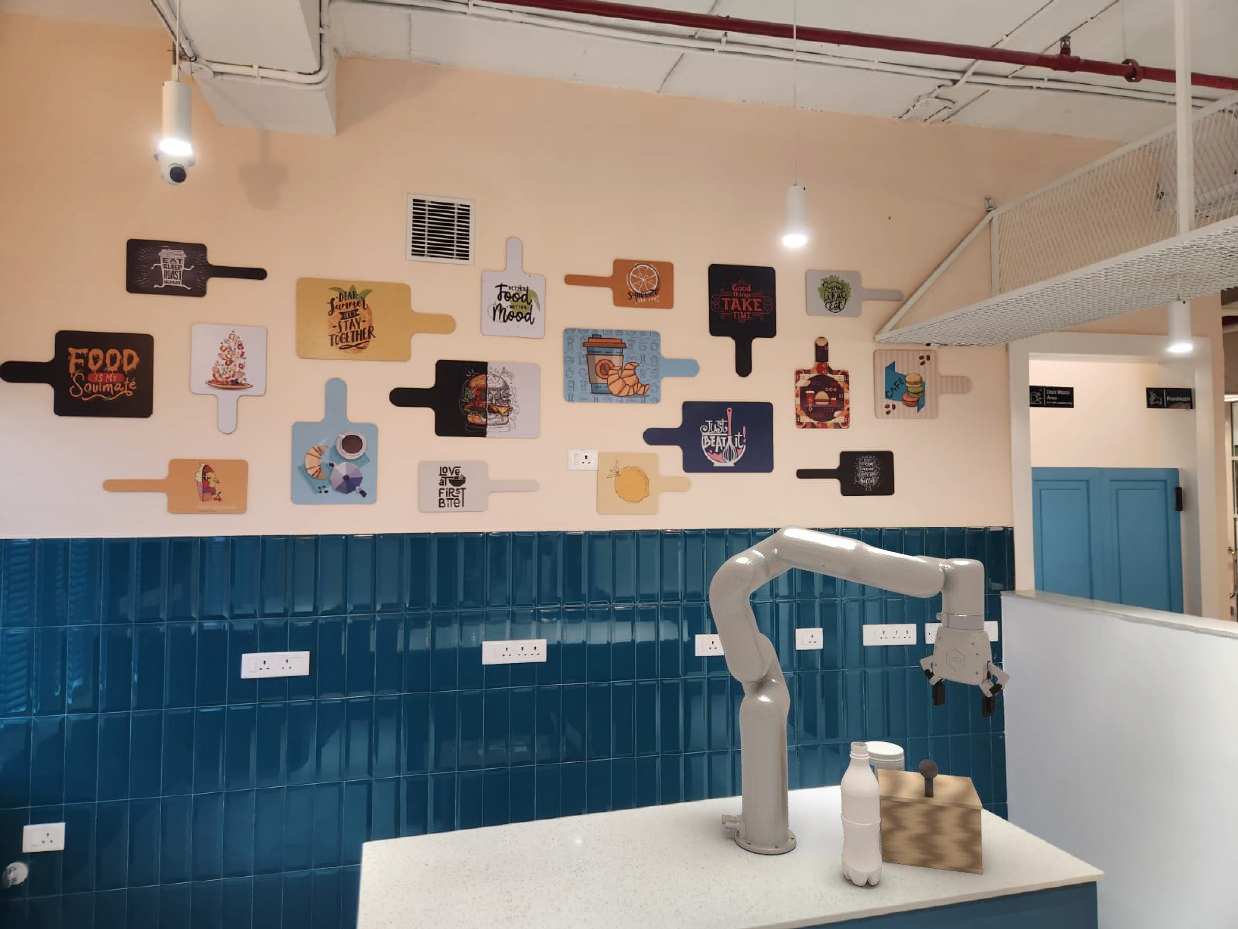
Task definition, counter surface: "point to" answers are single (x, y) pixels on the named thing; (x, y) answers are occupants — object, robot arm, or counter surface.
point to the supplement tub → (885, 757)
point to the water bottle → (860, 819)
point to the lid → (928, 787)
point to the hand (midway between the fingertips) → (962, 710)
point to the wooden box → (931, 836)
